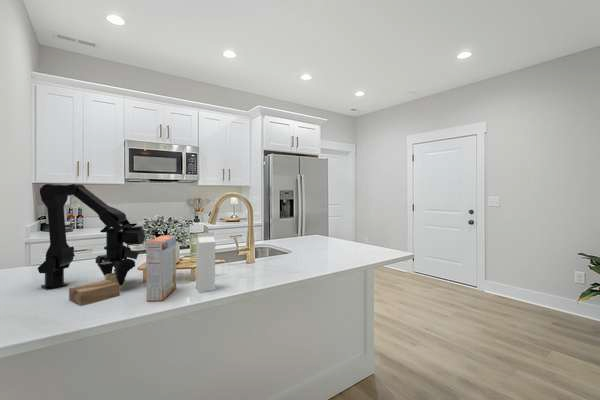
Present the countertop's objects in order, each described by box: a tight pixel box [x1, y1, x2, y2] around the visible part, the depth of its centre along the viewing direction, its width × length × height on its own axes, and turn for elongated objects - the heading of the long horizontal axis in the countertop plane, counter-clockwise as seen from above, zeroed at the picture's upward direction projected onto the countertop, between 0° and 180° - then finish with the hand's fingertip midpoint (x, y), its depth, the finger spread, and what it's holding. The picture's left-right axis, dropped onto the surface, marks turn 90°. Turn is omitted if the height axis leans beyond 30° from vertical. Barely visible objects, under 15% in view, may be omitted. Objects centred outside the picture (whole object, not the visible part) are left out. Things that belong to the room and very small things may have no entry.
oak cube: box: [104, 272, 126, 288], centre depth 115 cm, size 5×5×5 cm
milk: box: [195, 232, 216, 294], centre depth 114 cm, size 6×6×22 cm
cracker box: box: [145, 234, 177, 302], centre depth 107 cm, size 14×6×21 cm, turn 5°
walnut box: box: [68, 279, 121, 306], centre depth 103 cm, size 9×12×4 cm
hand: (114, 283), depth 115 cm, fingers open, 9 cm apart
